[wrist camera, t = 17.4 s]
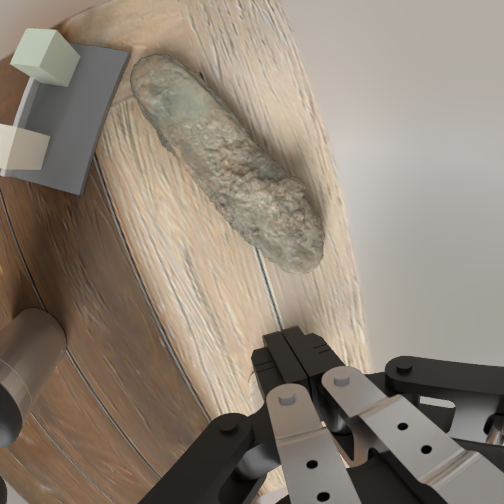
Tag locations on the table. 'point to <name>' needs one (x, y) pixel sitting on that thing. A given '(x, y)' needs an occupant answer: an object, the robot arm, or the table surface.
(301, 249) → the elongated rock
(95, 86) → the tile board
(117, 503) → the table surface
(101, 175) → the table surface
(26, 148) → the white block
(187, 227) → the table surface
